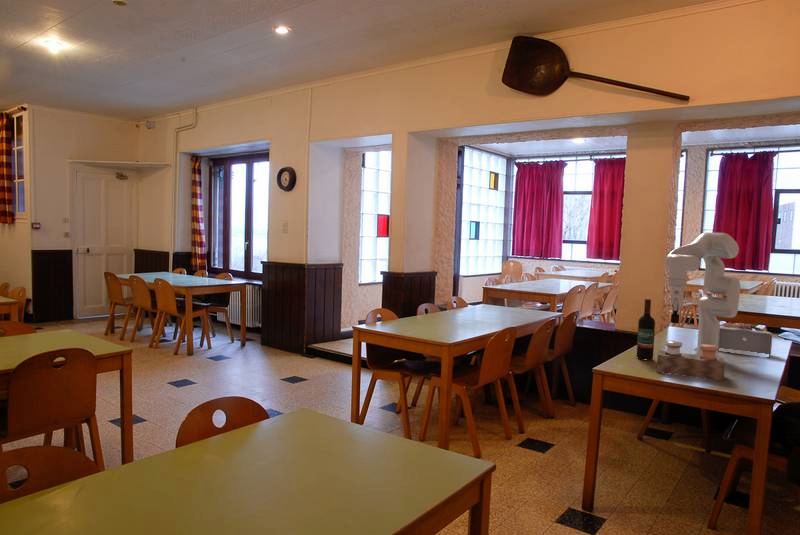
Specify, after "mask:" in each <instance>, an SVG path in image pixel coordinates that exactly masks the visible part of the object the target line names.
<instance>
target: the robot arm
mask: <svg viewBox="0 0 800 535" xmlns="http://www.w3.org/2000/svg"><path fill="white" fill-rule="evenodd" d="M739 252H740V248H739V244H738V243H737V241H736V240H735V239H734V238H733V237H732V236H731V235H730V234H728V233H725V232H703V233H700V234H699V235H698V236H697V237H696V238H695V239H694V240H693V241H692V242H691V243H689V244H686V245H682V246H678V247H677V248H676V247H675V248H674V249H673V250H672V251H670V252H669V254H667V256H666V257H665V260H664V266H665V267H666V269H667V270H668V277H667V278H668V279H667V286H670V294H669V295H670V296H669V299H670V301H669V302H670V308H671V316H670V323H671V324H679V323H680V309H683V308H684V297H685V296H684V295H685V288H687V285H688V282H687V281H688V272H695V271H697V270H699V268H700V266H701V260H700V259H703V262H704V264H705V271H704V277H703V278H704V280H703V290H704V292H705V293H707V294H710V295H711V294H712V295H719V296H726V297H717V296H710V295H709V296H702V297H699V299H698V301H697V311H698V330H697V343H696V344H697V346H696V347H694V348H693V349H694V351H696V353H694V354H695V355H702V349H700V345H702V344H707V345H714V346H718V351H719V336H720V327H721V324H720V321H719V319H718V318H717V317H720V318H727V319H728V318H729V319H731V318H735V317H736V316H737V314H738V310H739V302H740V295H741V294H740V293H741V282H740V280H739V279H738V278H737V277H734V276H726V275H725V270H726V266H725V264H724V262H723V260H722V259H734V258H736V257H737V256H738V254H739ZM684 287H685V288H684ZM718 351H716V355H715V357H721V358H723V357H722V356H720V355H719V352H718Z"/></svg>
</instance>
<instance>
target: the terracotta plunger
mask: <svg viewBox="0 0 800 535" xmlns="http://www.w3.org/2000/svg"><path fill="white" fill-rule="evenodd" d="M700 349H702V359H705V360H713V361H715V355H716V351H718V346H714V345H707V344H702V345H700Z"/></svg>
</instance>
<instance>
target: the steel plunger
mask: <svg viewBox="0 0 800 535" xmlns="http://www.w3.org/2000/svg"><path fill="white" fill-rule="evenodd" d="M664 343H665V344H664V345H665V346H666V351H667V355H671V356H680V353H681V348H682V347H683V342H682V341H677V340H665V342H664Z"/></svg>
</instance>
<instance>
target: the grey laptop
mask: <svg viewBox="0 0 800 535" xmlns="http://www.w3.org/2000/svg"><path fill="white" fill-rule="evenodd" d="M744 339H746V340H744ZM772 345H773V333H772V332H770V331H765V330H763V331H762V330H753V329H745V328H736V327H724V326H720V336H719V348H724V349H733V350H742V351H750V352H757V353H765V354H769V357H770V358H771V355H772Z"/></svg>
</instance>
